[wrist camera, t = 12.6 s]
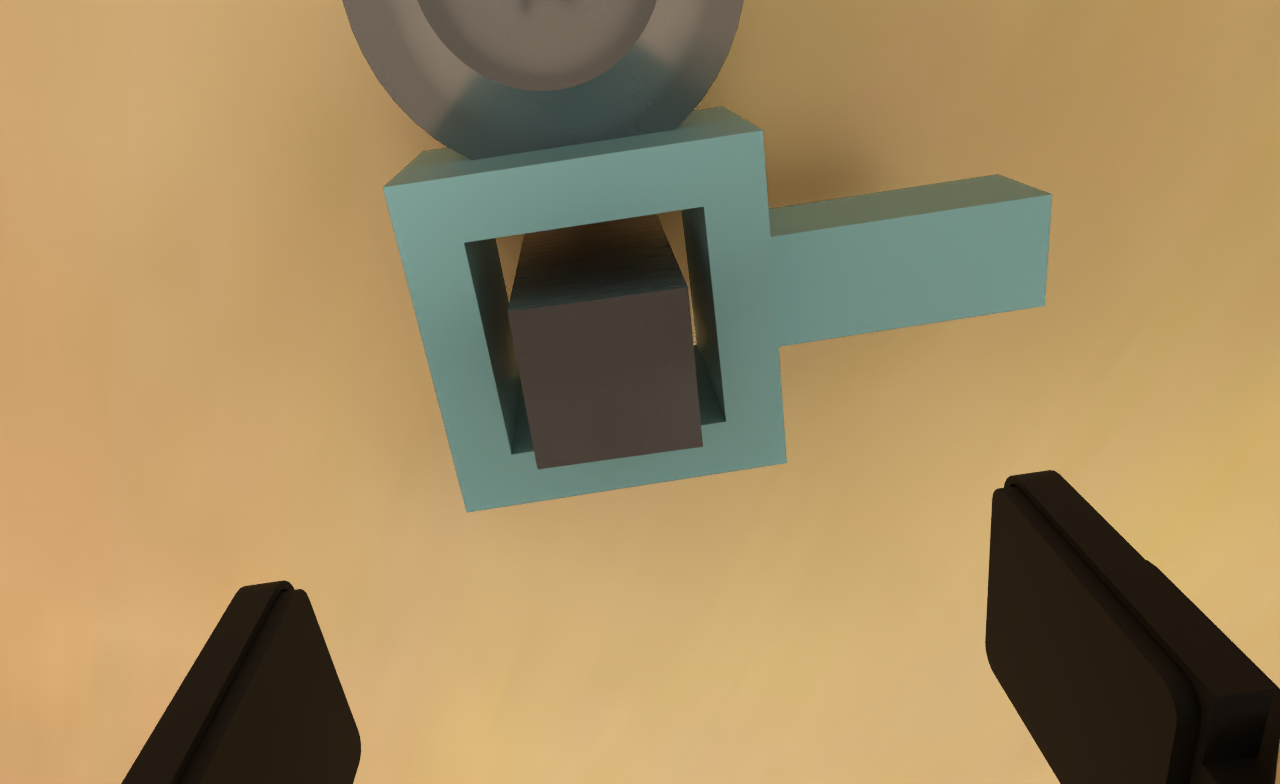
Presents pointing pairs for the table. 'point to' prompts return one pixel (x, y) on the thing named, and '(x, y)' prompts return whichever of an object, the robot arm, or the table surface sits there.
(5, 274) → the table surface
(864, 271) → the teal square frame handle
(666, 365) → the steel wedge pin
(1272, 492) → the table surface
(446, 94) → the grey tall round-topped piece
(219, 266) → the table surface
